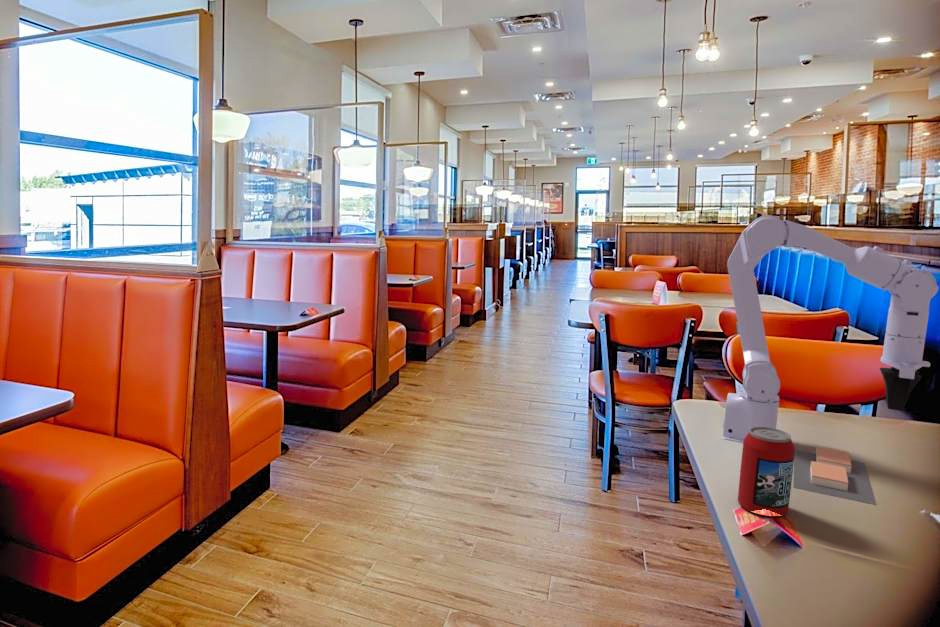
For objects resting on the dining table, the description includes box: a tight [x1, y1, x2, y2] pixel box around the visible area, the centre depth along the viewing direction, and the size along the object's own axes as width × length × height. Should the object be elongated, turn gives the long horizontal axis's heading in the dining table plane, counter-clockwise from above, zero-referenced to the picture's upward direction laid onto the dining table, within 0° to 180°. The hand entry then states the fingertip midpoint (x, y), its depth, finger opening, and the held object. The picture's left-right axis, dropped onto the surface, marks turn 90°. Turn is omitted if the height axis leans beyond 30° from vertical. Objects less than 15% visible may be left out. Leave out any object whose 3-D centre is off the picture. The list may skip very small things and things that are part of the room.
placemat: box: [793, 449, 877, 506], centre depth 98 cm, size 11×19×1 cm, turn 150°
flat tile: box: [815, 446, 852, 473], centre depth 103 cm, size 5×7×1 cm
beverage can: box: [737, 427, 796, 517], centre depth 85 cm, size 7×7×12 cm
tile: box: [810, 461, 848, 491], centre depth 96 cm, size 5×1×7 cm
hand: (894, 409), depth 104 cm, fingers closed
